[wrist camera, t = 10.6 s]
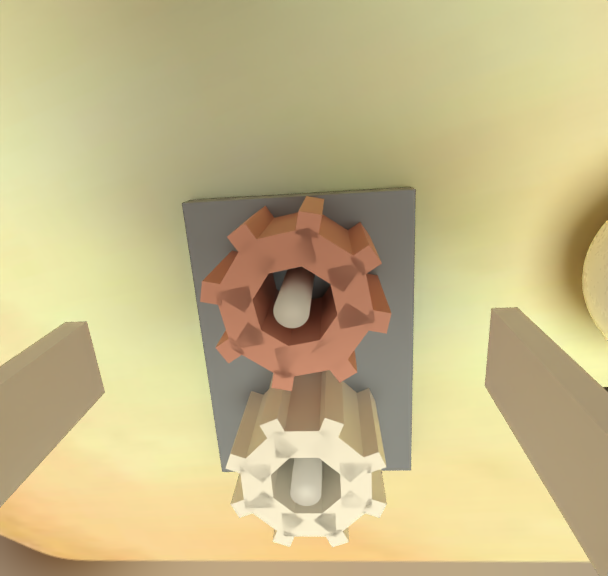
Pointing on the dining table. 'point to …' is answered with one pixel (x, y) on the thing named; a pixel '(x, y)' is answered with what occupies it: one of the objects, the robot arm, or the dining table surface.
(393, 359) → the gear board
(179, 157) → the dining table surface
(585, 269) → the lidded jar
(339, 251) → the gear
